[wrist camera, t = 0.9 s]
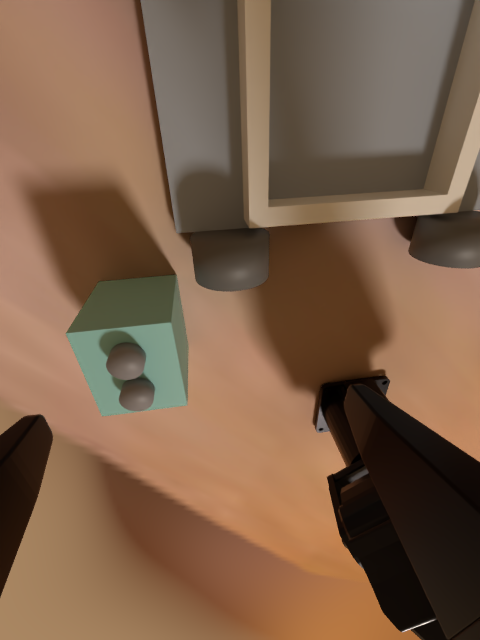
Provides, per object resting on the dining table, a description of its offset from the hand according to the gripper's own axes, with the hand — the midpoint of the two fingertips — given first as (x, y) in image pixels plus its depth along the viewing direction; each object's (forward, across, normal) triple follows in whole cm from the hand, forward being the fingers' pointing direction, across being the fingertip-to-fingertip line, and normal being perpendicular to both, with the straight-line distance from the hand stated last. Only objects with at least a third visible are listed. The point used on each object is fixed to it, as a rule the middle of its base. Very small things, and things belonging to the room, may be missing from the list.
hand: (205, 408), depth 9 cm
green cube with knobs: (+12, +4, +4) cm, 14 cm away
